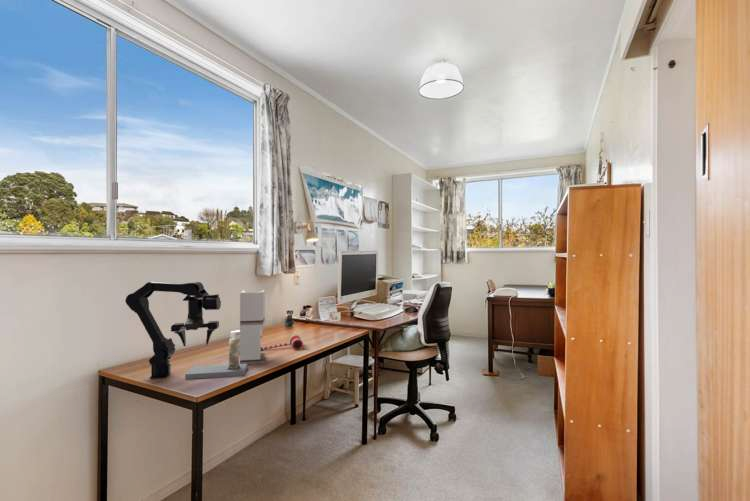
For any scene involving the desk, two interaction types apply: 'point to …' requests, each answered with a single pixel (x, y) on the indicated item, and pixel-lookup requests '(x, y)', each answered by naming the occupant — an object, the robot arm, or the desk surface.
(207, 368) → the board
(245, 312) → the tall grey banded box
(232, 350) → the wooden leg
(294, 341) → the toy hammer
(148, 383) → the desk surface
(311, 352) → the desk surface
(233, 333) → the ink box
